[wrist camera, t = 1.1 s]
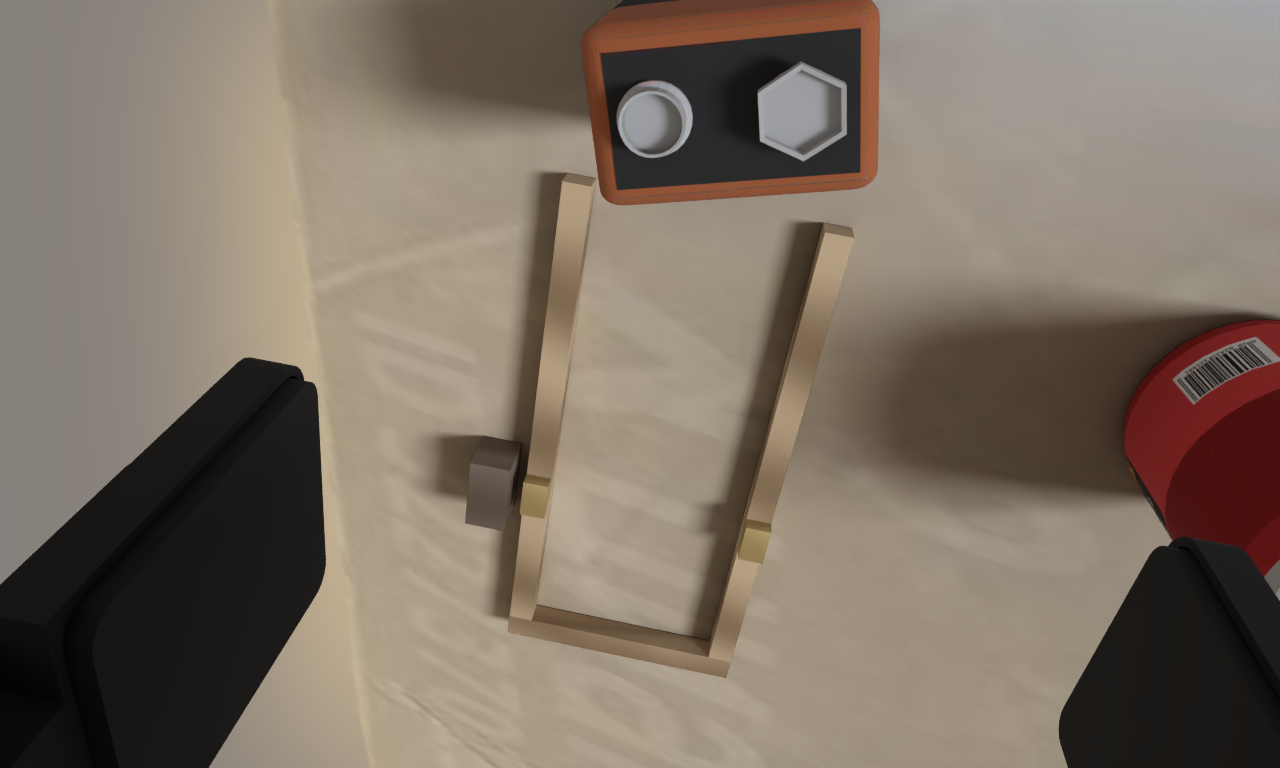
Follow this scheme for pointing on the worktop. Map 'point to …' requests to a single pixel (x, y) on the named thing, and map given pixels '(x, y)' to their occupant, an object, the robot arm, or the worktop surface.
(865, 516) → the worktop surface
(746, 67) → the battery
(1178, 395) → the canned food
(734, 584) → the track
